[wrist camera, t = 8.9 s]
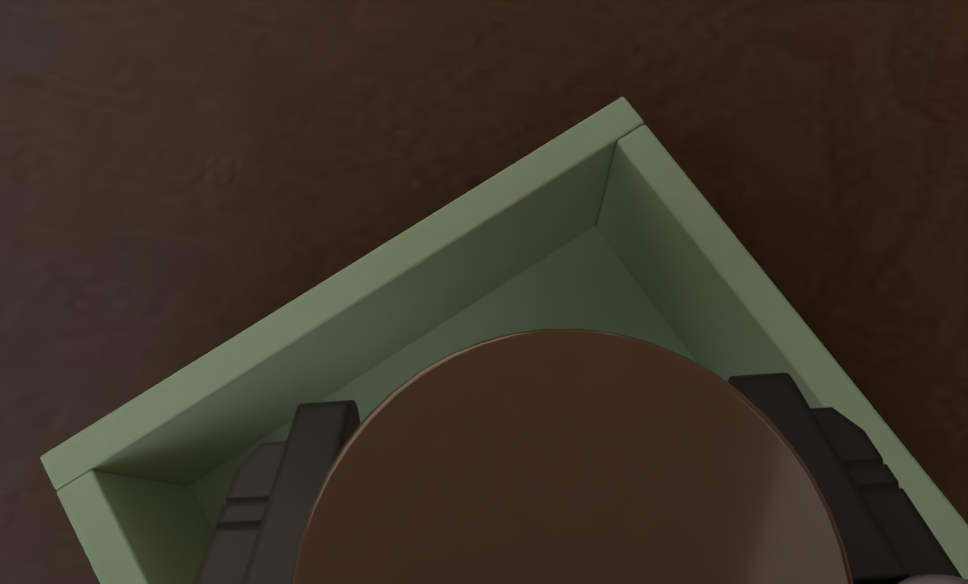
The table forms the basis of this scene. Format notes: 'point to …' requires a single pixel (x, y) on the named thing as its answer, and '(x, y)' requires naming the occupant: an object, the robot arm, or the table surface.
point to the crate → (460, 338)
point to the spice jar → (569, 476)
